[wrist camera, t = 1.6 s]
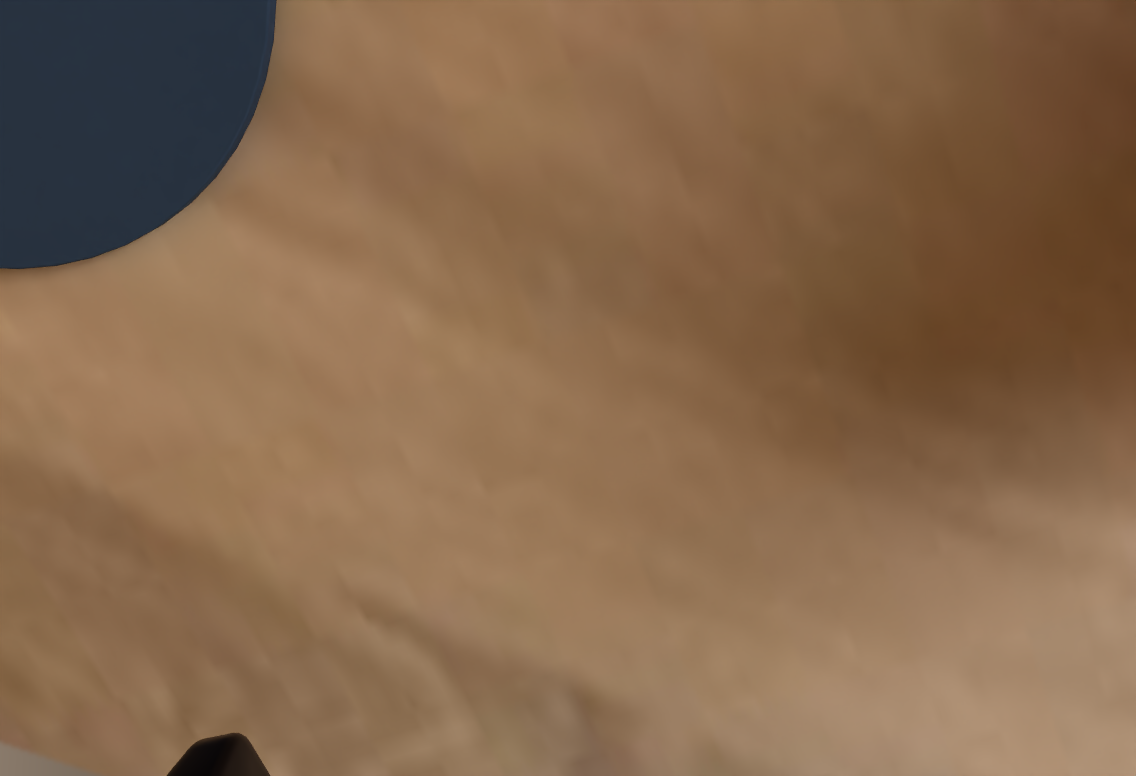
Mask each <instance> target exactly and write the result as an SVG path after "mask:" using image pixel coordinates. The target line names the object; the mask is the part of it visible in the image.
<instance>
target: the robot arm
mask: <svg viewBox="0 0 1136 776" xmlns="http://www.w3.org/2000/svg"><path fill="white" fill-rule="evenodd" d="M167 776H270V774H269V773H268V771H267V769H266V768H265V766H264V764H263V763H262V761H261V759H260V758H259V756H258V754H257V753H256V751H255V749H254V748H253V746H252V744H251V743H250V741H249V740H248V739H247V737H245V736H244V735H242V734H240V733H230V734H225V735H220V736H215V737H210V738H205V739H202V740H199V741H197V742H196V743H195V744H193V745H192V746H191V747H190V748H189V749H188V750H187V751H186V753H185V754H184V755H183V756H182V757H181V759H180V760H179V761H178V762H177V764H176V765H175V766H174V767H173V768H172V770H171V771H170V772H169V773H168V775H167Z"/></svg>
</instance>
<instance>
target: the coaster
mask: <svg viewBox="0 0 1136 776" xmlns="http://www.w3.org/2000/svg"><path fill="white" fill-rule="evenodd" d="M275 12H276V0H0V268H7V269H25V268H36V267H48V266H58V265H62V264H67V263H71V262H76V261H80V260H84V259H89V258H93V257H96V256H98V255H101V254H104V253H106V252H109V251H112V250H114V249H117V248H120V247H122V246H125V245H127V244H129V243H131V242H132V241H134V240H136V239H138V238H140V237H141V236H143V235H145V234H147V233H149V232H150V231H152V230H154V229H156V228H158V227H159V226H161V225H163V224H164V223H166V222H167V221H168V220H170V219H171V218H172V217H173V216H175V215H176V214H177V213H179V212H180V211H181V210H183V209H184V208H185V207H187V206H188V205H189V204H190V203H192V202H193V201H194V200H195V199H196V198H197V197H198V195H199V194H200V193H201V192H202V191H203V190H204V189H205V188H206V187H207V186H208V185H209V184H210V183H211V182H212V181H213V180H214V179H215V178H216V177H217V175H218V174H219V172H220V171H221V170H222V168H223V167H224V165H225V164H226V163H227V161H228V160H229V158H230V157H231V156H232V154H233V153H234V151H235V150H236V149H237V147H238V145H239V143H240V141H241V139H242V137H243V135H244V133H245V131H246V129H247V127H248V125H249V123H250V121H251V119H252V117H253V115H254V112H255V110H256V107H257V104H258V101H259V98H260V95H261V92H262V89H263V86H264V83H265V80H266V76H267V71H268V66H269V61H270V56H271V51H272V46H273V41H274V27H275Z"/></svg>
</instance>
